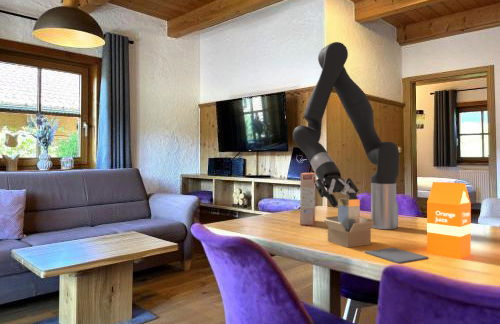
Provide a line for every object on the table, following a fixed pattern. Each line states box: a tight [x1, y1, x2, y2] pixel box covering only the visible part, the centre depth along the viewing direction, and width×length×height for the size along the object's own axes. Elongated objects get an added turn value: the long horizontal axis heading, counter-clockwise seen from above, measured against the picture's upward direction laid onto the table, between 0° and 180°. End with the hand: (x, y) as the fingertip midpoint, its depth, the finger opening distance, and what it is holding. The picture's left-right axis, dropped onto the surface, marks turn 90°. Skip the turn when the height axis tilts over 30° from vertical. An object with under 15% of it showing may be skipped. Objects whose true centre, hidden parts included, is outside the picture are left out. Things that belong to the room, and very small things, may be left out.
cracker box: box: [299, 172, 316, 227], centre depth 156 cm, size 14×6×21 cm, turn 168°
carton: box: [323, 215, 374, 248], centre depth 119 cm, size 14×14×8 cm
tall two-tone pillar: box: [337, 197, 361, 232], centre depth 119 cm, size 4×5×14 cm
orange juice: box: [426, 181, 472, 260], centre depth 105 cm, size 8×9×20 cm
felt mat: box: [364, 247, 429, 264], centre depth 103 cm, size 11×12×1 cm
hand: (346, 205), depth 119 cm, fingers open, 8 cm apart
